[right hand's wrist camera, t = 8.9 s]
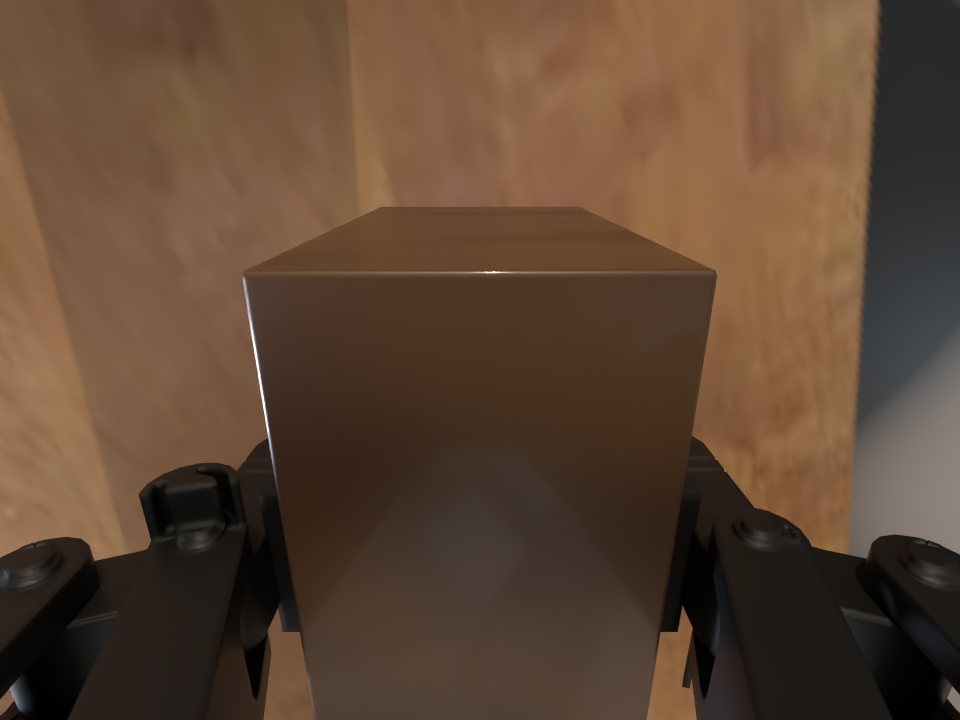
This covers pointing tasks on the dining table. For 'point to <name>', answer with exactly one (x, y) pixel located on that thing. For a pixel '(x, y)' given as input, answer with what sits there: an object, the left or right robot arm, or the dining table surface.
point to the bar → (479, 456)
